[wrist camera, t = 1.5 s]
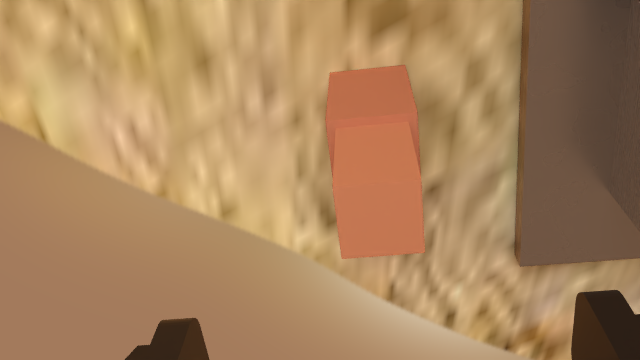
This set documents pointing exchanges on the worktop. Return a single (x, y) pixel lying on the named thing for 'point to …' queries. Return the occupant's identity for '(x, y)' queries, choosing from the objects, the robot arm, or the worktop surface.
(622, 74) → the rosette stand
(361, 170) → the stepped block
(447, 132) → the worktop surface
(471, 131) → the worktop surface
